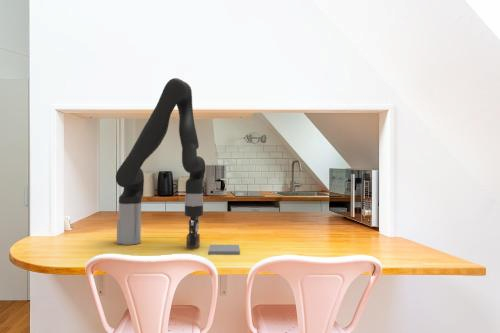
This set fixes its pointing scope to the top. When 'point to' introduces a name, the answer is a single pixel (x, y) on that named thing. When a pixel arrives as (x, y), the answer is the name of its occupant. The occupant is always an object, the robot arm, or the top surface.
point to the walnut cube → (196, 241)
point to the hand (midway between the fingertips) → (193, 243)
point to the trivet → (224, 249)
